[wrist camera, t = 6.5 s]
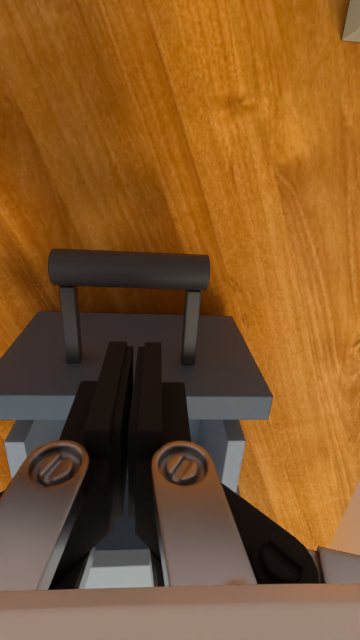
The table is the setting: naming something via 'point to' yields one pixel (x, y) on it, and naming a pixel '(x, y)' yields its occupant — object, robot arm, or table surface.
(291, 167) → the table surface
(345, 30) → the soap cube
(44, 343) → the drawer
